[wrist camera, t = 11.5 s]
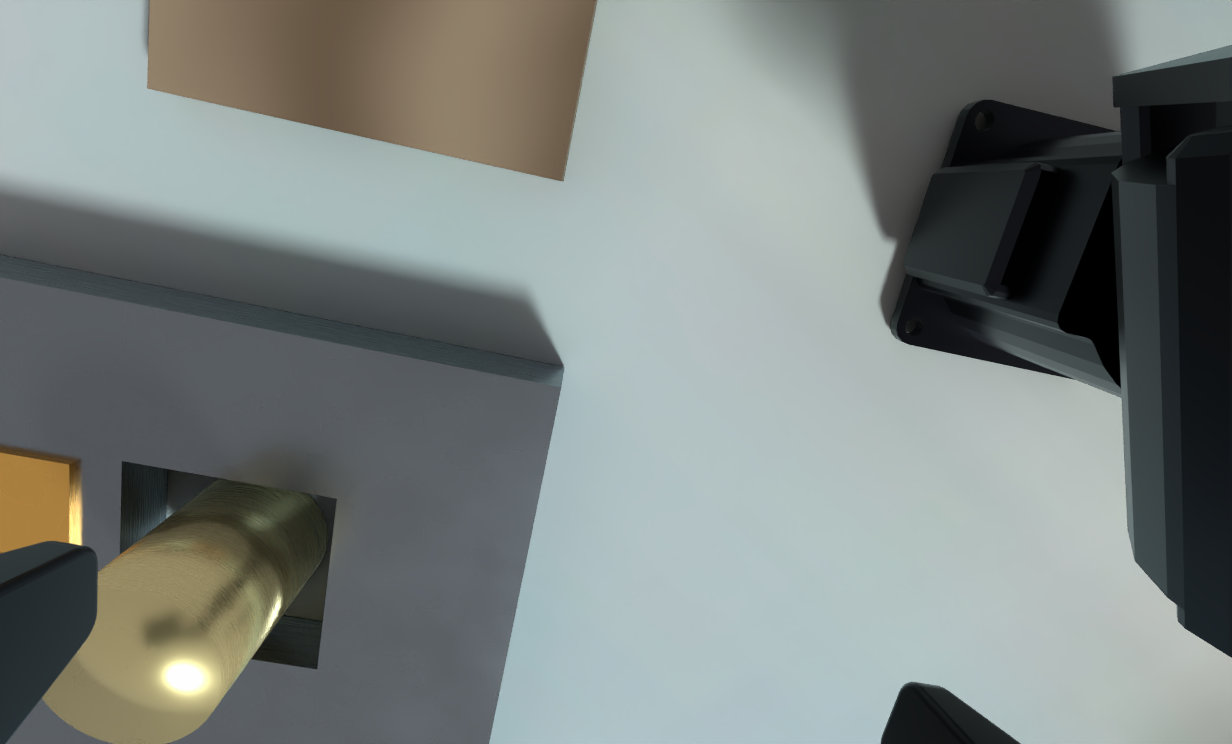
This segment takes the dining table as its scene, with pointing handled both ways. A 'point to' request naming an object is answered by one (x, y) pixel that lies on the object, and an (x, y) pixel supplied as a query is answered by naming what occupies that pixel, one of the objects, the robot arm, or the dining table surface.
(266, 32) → the pad
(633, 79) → the dining table surface
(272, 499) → the brass peg
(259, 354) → the hole plate
